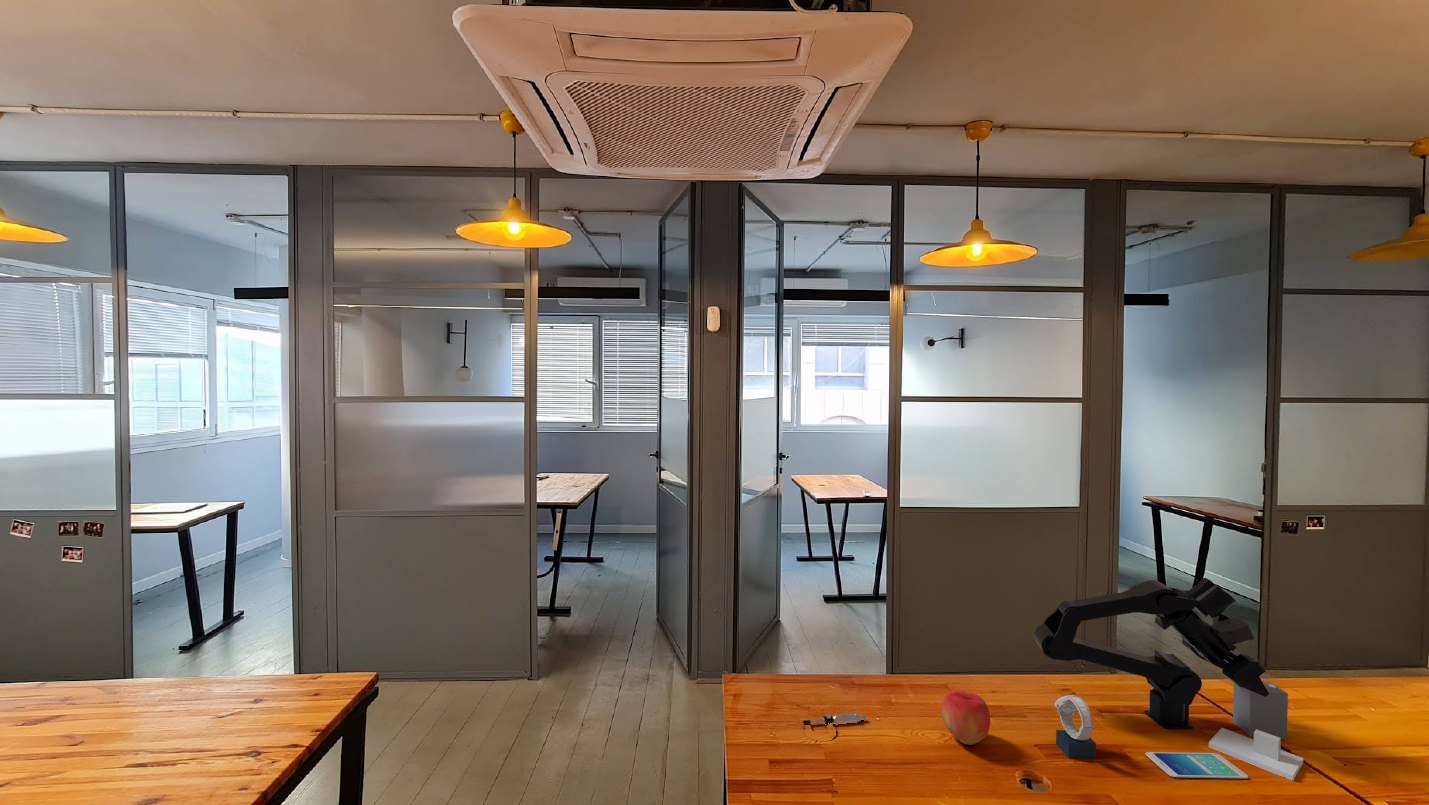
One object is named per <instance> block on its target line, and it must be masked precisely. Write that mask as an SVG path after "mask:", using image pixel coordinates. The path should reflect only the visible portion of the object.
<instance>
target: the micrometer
mask: <svg viewBox="0 0 1429 805" xmlns="http://www.w3.org/2000/svg"><path fill="white" fill-rule="evenodd" d="M822 718H823V719H811V720H810V719H808V720H806V719H805V720H804V719H803V720H802V724H803V723H804V725H811V724H810V723H812V722H825V724H826V725H828V723H829V724H830V723H832V722H833V723H834V722H858V721H860V719H863V720H866V721H867V716H866V714H861V715H860V714H859V713H858V712H857V713H856V712H855V713H847V714H844V713H843V714H842V713H841V714H835V715H831V714H829V713H827V714H825V715H823V716H822ZM860 722H861V721H860ZM811 726H812V725H811Z"/></svg>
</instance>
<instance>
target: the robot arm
mask: <svg viewBox="0 0 1429 805" xmlns="http://www.w3.org/2000/svg"><path fill="white" fill-rule="evenodd" d="M1235 603H1237V601H1236V599H1235V598H1234V597H1233V596H1232V595H1231V594H1230V593H1229V592H1228V591H1227V592H1226V591H1225V590H1223V589H1222V588H1221V587H1220V586H1218V585H1217V584H1215V583H1214V582H1213V581H1212V580H1211V579H1209V578H1207V577H1203V578H1202V579H1200V580H1199V582H1198V583H1197V584H1195V585H1194V586H1192V588H1190V589H1188V591H1186V592H1185V591H1183V590H1182V589H1180V588H1175V587H1172V586H1171V587H1170V586H1167V585H1165V584H1164V583H1162V582H1160V581H1157V580H1146V581H1143V582H1140V583H1137V584H1135V585H1133V586H1132V587H1130V588H1129V589H1127V590H1124V591H1122V592H1115V593H1109V594H1105V595H1104V594H1103V595H1097V596H1093V597H1092V596H1091V597H1087V598H1086V597H1085V598H1081V599H1076V600H1063V601H1062V602H1060V603H1059V605H1058V606H1057V607H1056V609H1055V610H1054V611H1052V612H1051V613H1050V614H1049V615H1048V616H1046V618H1045V619H1044V621H1043V623H1042V624H1040V625H1039V626H1037V627H1036V628H1035V630H1034V632H1033V638H1034V641H1035V642H1036V643H1037V645H1038V647H1039V648H1040V650H1041V651H1042V652H1043V654H1044V655H1045V656H1046V657H1047V658H1048V659H1050V660H1055V661H1062V662H1063V661H1064V662H1074V661H1084V662H1088V663H1092V664H1095V665H1099V666H1102V667H1105V668H1109V669H1113V670H1118V671H1120V672H1124V673H1128V674H1132V675H1135V676H1138V677H1139V676H1140V677H1143V678H1145V680H1146V682H1147V684H1148V685H1150V686H1151V687H1152V689H1149V708H1148V709H1146V710H1143V713H1144V714H1145V715H1146V716H1147V717H1148V718H1151V719H1152V720H1153V721H1154V722H1156V723H1158V725H1160V726H1161V725H1162V726H1161V727H1162V728H1164V729H1166V730H1168V729H1169V730H1173V729H1174V730H1175V729H1176V730H1177V729H1178V730H1183V729H1185V730H1186V729H1189V730H1190V729H1194V727H1195V726H1194V725H1193V724H1191V723H1190V722H1189V721H1190V706H1191V705H1192V704H1193V702H1194V700H1195V697H1196V695H1197V694H1198V693H1199V692H1200V691H1201V688H1202V686H1203V685H1202V684H1203V682H1202V679H1201V677H1200V676H1199V675H1198V674H1197V672H1195V671H1194V670H1193V669H1192V668H1190V667H1189V666H1188V665H1187V664H1186V663H1185V662H1184V661H1183V660H1181V659H1180V658H1179V657H1178V656H1177V655H1175V654H1174V653H1164V652H1162V651H1160V650H1156V649H1155V650H1154V655H1151V656H1145V655H1142V654H1141V655H1140V654H1137V653H1133V652H1129V651H1127V650H1122V649H1118V648H1114V647H1112V646H1111V647H1110V646H1107V645H1103V644H1099V643H1096V642H1092V641H1088V640H1084V639H1081V638H1078V637H1076V633H1077V630H1078V627H1079V626H1080V625H1081V623H1082V622H1086V621H1092V620H1098V619H1103V618H1109V617H1110V618H1111V617H1116V616H1121V615H1127V614H1133V613H1134V614H1135V613H1137V614H1138V613H1139V614H1147V615H1155V619H1154V623H1155V624H1156V625H1157V626H1158V627H1159V628H1161V629H1162V630H1164V631H1165V630H1167V629H1169V628H1170V627H1171V628H1172V629H1173V630H1174V631H1176V632H1177V633H1178V634H1179V635H1180V637H1181V640H1182V642H1181V643H1182V645H1183V646H1184V647H1185V648H1186V649H1187V650H1188V651H1190V652H1192V653H1193V654H1194V655H1196V656H1197V657H1198V658H1200V659H1202V660H1204V661H1205V662H1207V663H1209V664H1212V665H1213V666H1215V667H1217V668H1219V669H1222V674H1223V675H1224V676H1225V677H1226V678H1228V680H1230V681H1231V682H1232V683H1233V684H1234V683H1235V684H1236V685H1238V686H1239V687H1243V688H1245V689H1248V690H1250V691H1253V692H1255V693H1257V694H1259V695H1262V696H1264V697H1266V696H1268V695H1269V692H1268V691H1267V689H1266V687H1265V686H1264V684H1263V682H1262V681H1263V680H1262V678H1261V677H1260V676H1262V675H1263V674H1264V673H1266V671H1267V670H1266V668H1265V666H1263V665H1262V664H1261V663H1260V662H1259V661H1258V660H1257V659H1254V658H1253V657H1251V656H1250V655H1248V654H1243V653H1239V654H1238V655H1236V654H1235V653H1233V652H1234V651H1235V650H1236V649H1238V647H1237V646H1236V645H1237V644H1241V643H1244V642H1247V641H1254V640H1255V639H1256V637H1255V634H1254V632H1253V631H1252V629H1251V627H1250V625H1249V623H1247V622H1245V621H1244V620H1242V619H1241V618H1239V617H1234V616H1232V615H1230V616H1229V617H1228V616H1227V615H1226V614H1224V612H1225V611H1226V610H1228V609H1229V608H1230V607H1232V606H1233V605H1235ZM1193 609H1194V610H1195V611H1197V612H1198V613H1199V614H1200V615H1202V616H1203V617H1205V618H1207V617H1210V618H1211V619H1212V624H1211V625H1210V624H1209V622H1206V621H1205V620H1204V619H1203V618H1202V617H1201V616H1200V615H1199V614H1198V613H1196V612H1195V611H1194V610H1193ZM1231 651H1232V652H1231Z"/></svg>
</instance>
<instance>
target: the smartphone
mask: <svg viewBox="0 0 1429 805" xmlns="http://www.w3.org/2000/svg"><path fill="white" fill-rule="evenodd" d="M1144 756H1145V757H1146V758H1147V759H1149V760H1150V761H1151V762H1152V764H1154V765H1155V766H1156V767H1158V768H1159V769H1160V770H1161V771H1162V772H1163V773H1164V774H1166V775H1167V777H1169V778H1171V779H1174V780H1175V779H1180V780H1181V779H1182V780H1185V779H1187V780H1244V781H1245V780H1249V775H1248V774H1246V773H1245V772H1243V771H1242V770H1241V769H1239V767H1237V766H1235V765H1234V764H1233V763H1232V762H1230V761H1229V760H1227V758H1225V757H1224V756H1222V755H1220V754H1219V753H1215V752H1172V751H1171V752H1169V751H1167V752H1165V751H1163V752H1162V751H1161V752H1160V751H1147V752H1146V751H1145V754H1144Z"/></svg>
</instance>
